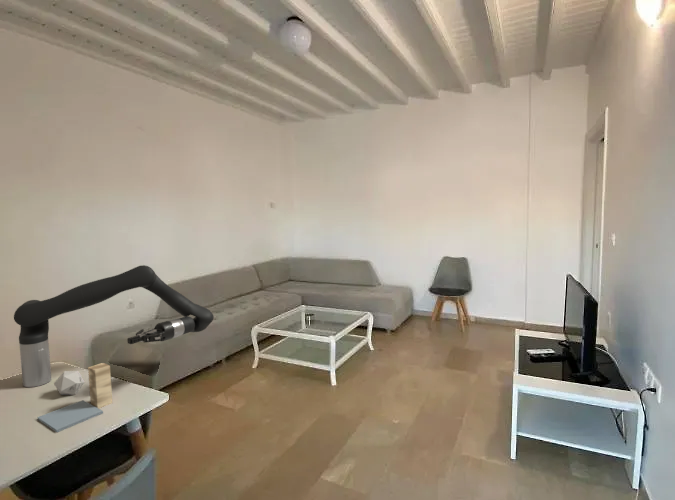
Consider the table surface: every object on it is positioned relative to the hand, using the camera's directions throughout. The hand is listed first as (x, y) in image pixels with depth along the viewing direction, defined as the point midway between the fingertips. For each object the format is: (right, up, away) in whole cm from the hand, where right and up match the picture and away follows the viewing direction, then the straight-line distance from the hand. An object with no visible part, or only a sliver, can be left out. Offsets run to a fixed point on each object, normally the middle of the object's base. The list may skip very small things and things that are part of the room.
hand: (128, 341), depth 150 cm
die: (-23, -20, +2) cm, 31 cm away
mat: (-11, -22, -15) cm, 29 cm away
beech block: (-6, -21, -7) cm, 23 cm away
